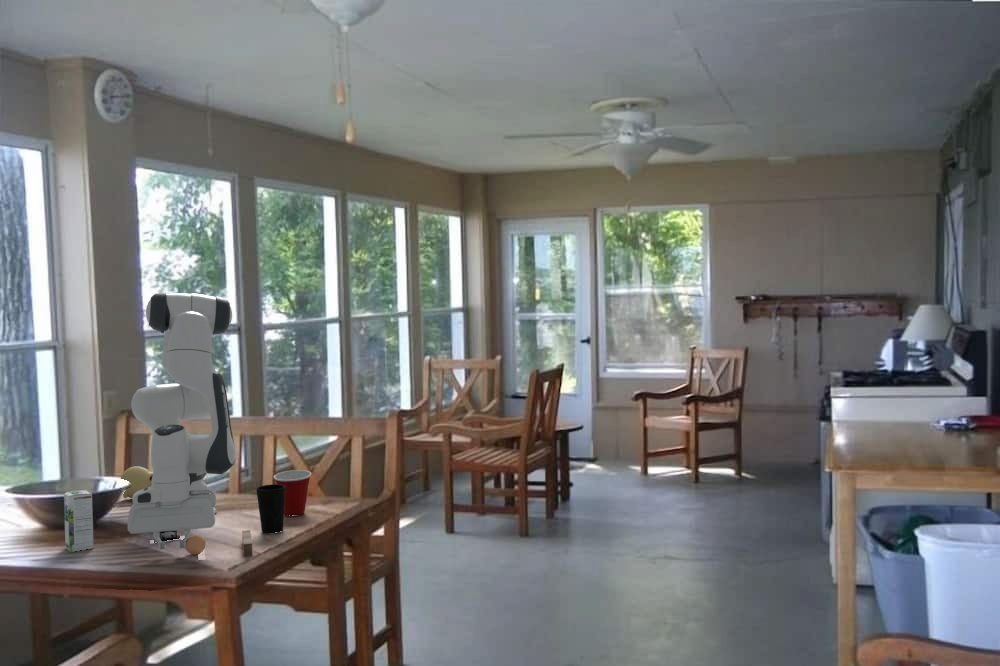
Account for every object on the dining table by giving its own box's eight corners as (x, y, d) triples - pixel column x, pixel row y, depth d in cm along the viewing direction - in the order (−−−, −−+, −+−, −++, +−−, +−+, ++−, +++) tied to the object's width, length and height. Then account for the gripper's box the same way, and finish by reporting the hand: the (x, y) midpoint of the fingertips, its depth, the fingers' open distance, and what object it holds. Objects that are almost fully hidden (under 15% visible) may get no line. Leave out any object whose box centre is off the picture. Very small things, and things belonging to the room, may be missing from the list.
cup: (279, 535, 248) (277, 490, 247) (252, 534, 250) (251, 489, 249) (291, 528, 255) (290, 484, 255) (265, 527, 257) (264, 484, 257)
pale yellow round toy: (158, 501, 295) (156, 467, 295) (117, 504, 293) (116, 470, 292) (162, 494, 305) (160, 462, 304) (123, 497, 302) (121, 464, 302)
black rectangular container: (144, 548, 241) (143, 530, 241) (141, 541, 248) (140, 524, 247) (194, 540, 247) (193, 523, 247) (190, 534, 253) (189, 517, 253)
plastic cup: (269, 519, 267) (267, 477, 267) (282, 510, 278) (280, 470, 277) (306, 519, 266) (304, 477, 265) (317, 510, 276) (316, 469, 276)
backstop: (242, 542, 242) (242, 530, 241) (250, 541, 242) (250, 530, 242) (243, 556, 228) (243, 544, 228) (252, 555, 229) (251, 543, 229)
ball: (199, 528, 233) (210, 543, 234) (182, 539, 233) (193, 555, 234) (197, 534, 229) (208, 549, 230) (180, 545, 228) (191, 561, 229)
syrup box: (64, 548, 240) (62, 492, 240) (89, 544, 244) (86, 489, 243) (70, 553, 236) (67, 495, 235) (95, 548, 239) (92, 492, 239)
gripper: (215, 487, 235) (217, 541, 235) (129, 492, 230) (130, 549, 230) (214, 491, 229) (216, 547, 229) (125, 497, 224) (127, 555, 224)
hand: (172, 548), depth 230 cm, fingers open, 4 cm apart
